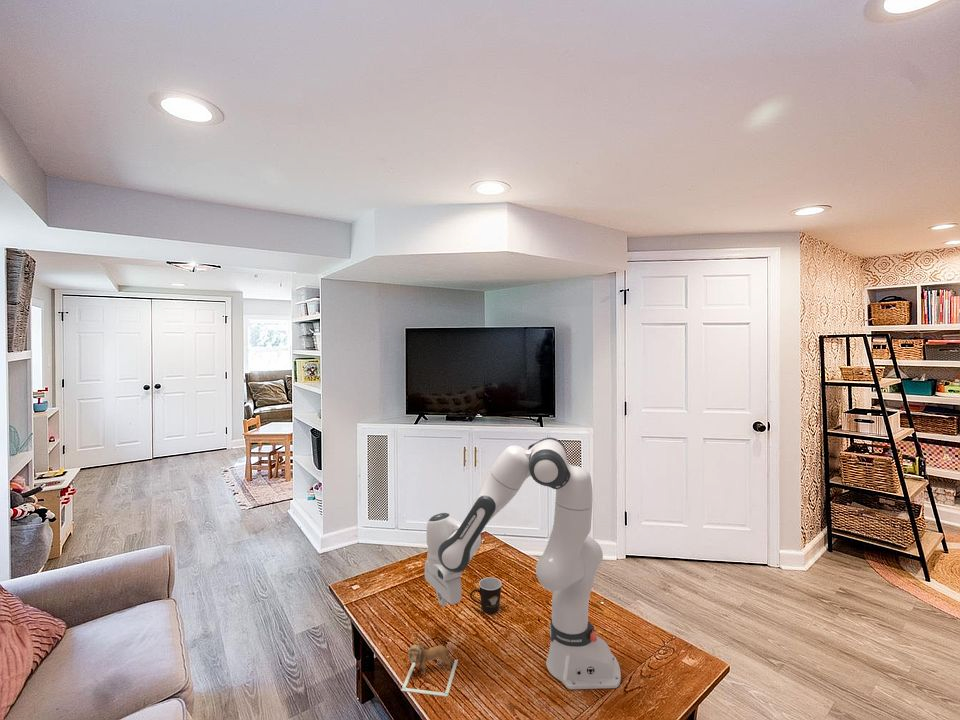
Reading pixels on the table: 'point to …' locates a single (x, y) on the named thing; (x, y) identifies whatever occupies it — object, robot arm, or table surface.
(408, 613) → the table surface
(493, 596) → the coffee mug
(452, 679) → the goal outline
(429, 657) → the lion figurine
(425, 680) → the table surface
